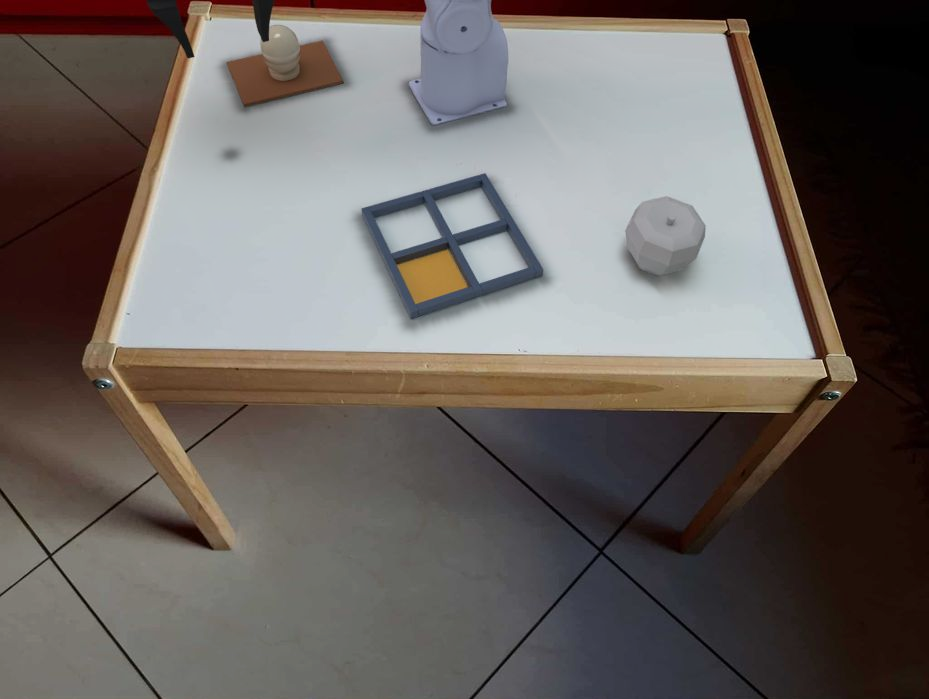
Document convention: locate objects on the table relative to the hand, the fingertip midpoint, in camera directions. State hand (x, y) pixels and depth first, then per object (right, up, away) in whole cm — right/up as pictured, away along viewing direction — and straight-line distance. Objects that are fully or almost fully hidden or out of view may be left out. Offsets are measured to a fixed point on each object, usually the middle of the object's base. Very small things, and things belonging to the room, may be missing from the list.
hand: (226, 43), depth 77 cm
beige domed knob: (+3, +2, +13) cm, 13 cm away
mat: (+3, +2, +13) cm, 13 cm away
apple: (+44, -22, 0) cm, 49 cm away
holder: (+23, -21, 0) cm, 31 cm away
